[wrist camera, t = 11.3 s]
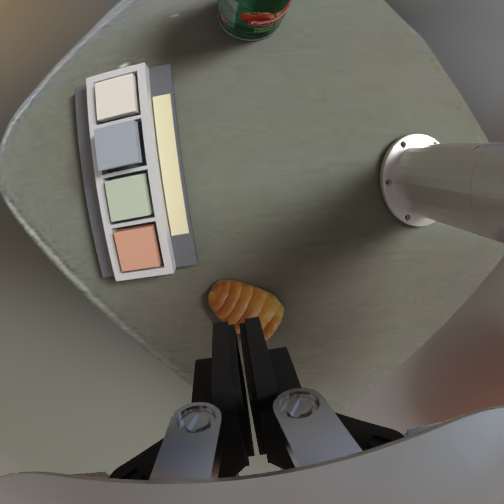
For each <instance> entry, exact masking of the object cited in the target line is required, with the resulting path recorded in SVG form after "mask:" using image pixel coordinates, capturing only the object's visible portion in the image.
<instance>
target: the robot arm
mask: <svg viewBox="0 0 504 504" xmlns="http://www.w3.org/2000/svg"><path fill="white" fill-rule="evenodd" d="M400 144H401V145H400ZM386 181H387V183H386ZM380 186H381V191H382V195H383V198H384V201H385V203H386V205H387V207H388V209H389V210H390V211H391V213H392V214H393V215H394V216H395V217H396V218H397V219H399V220H400V221H402V222H404V223H406V224H408V225H411V226H417V227H423V226H428V225H430V224H433V223H434V222H436V221H438V222H441V223H444V224H447V225H451V226H454V227H457V228H460V229H463V230H466V231H469V232H472V233H475V234H478V235H480V236H483V237H486V238H489V239H492V240H495V241H498V242H501V243H504V143H450V144H440V143H439V142H438V141H437V140H435V139H434V138H432V137H430V136H428V135H425V134H420V133H415V134H408V135H404V136H402V137H400V138H398V139H397V140H396V141H395V142H394V143H392V145H391V146H390V147H389V149H388V150H387V152H386V154H385V156H384V158H383V161H382V165H381V171H380ZM244 320H245V323H239V327H240V335H241V343H242V351H243V359H244V366H245V374H246V381H247V388H248V394H249V400H250V405H251V411H252V416H253V422H254V427H255V432H256V438H257V443H258V447H259V453H260V455H263V454H267V459H268V463H272V464H274V465H276V466H278V467H280V469H281V470H280V471H274V472H268V473H261V474H254V475H246V476H239V474H238V473H239V472H240V471H241V470H242V469H243V468H244V467H245V466H249V459H248V457H249V456H254V449H253V441H252V434H251V426H250V419H249V411H248V403H247V396H246V388H245V382H244V376H243V371H242V365H241V359H240V354H239V348H238V342H237V336H236V330H235V325H234V324H231V325H229V323H228V321H225V322H217V323H213V338H212V358H206V359H198V360H196V363H195V372H194V382H193V393H192V403H190V404H187V405H185V406H183V407H181V408H179V409H178V410H177V411H176V412H175V413H174V414H173V416H172V418H171V420H170V423H169V426H168V428H167V431H166V434H165V437H164V438H163V439H162V440H160V441H159V442H157V443H156V444H154V445H153V446H151V447H150V448H148V449H147V450H145V451H144V452H142V453H141V454H139V455H137V456H136V457H134V458H133V459H131V460H129V461H128V462H126V463H125V464H123V465H121V466H120V467H118V468H117V469H116V470H115V471H113V473H112V474H110V475H107V473H106V472H96V473H84V474H63V473H55V472H18V473H10V474H7V475H3V476H0V504H504V406H498V407H492V408H486V409H482V410H478V411H474V412H471V413H467V414H464V415H462V416H459V417H456V418H453V419H450V420H448V421H445V422H440V423H436V424H431V425H426V426H422V427H416V428H412V429H407V432H406V433H402V434H401V433H400V432H398V431H395V430H393V429H390V428H386V427H382V426H379V425H375V424H371V423H368V422H364V421H361V420H357V419H354V418H351V417H347V416H344V415H341V414H338V413H335V412H334V411H333V410H332V408H331V407H330V405H329V404H328V403H327V401H326V400H325V398H324V397H323V396H322V395H321V394H320V393H319V392H317V391H315V390H313V389H308V388H301V385H300V383H299V380H298V377H297V374H296V372H295V369H294V366H293V363H292V361H291V358H290V355H289V352H288V350H287V347H282V348H276V349H270V350H268V349H267V345H266V341H265V337H264V333H263V330H262V326H261V322H260V318H259V317H252V318H246V319H244Z"/></svg>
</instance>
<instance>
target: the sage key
mask: <svg viewBox="0 0 504 504" xmlns="http://www.w3.org/2000/svg"><path fill="white" fill-rule="evenodd" d="M105 188H106V194H107V200H108V206H109V212H110V217H111V222H114V221H120V220H125V219H131V218H136V217H142V216H148V215H151V214H152V213H153V210H152V204H151V197H150V191H149V185H148V178H147V173H144V174H138V175H133V176H129V177H124V178H119V179H114V180H110V181H105Z"/></svg>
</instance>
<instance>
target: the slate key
mask: <svg viewBox="0 0 504 504" xmlns="http://www.w3.org/2000/svg"><path fill="white" fill-rule="evenodd" d="M94 139H95V148H96V156H97V164H98V171H105V170H109V169H114V168H118V167H123V166H127V165H132V164H137V163H142V156H141V148H140V140H139V131H138V122H136V121H135V120H130V121H126V122H121V123H117V124H113V125H109V126H105V127H102V128H98V129H94Z"/></svg>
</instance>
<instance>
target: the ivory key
mask: <svg viewBox="0 0 504 504" xmlns="http://www.w3.org/2000/svg"><path fill="white" fill-rule="evenodd" d="M95 96H96V111H97V120H98V121H100V122H107V121H110V120H114V119H118V118H122V117H127V116H131V115H135V114H140V113H139V102H138V91H137V78H136V76H135V75H134V74H133V73H131V74H127V75H123V76H119V77H116V78H112V79H108V80H105V81H101V82H98V83H95Z"/></svg>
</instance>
